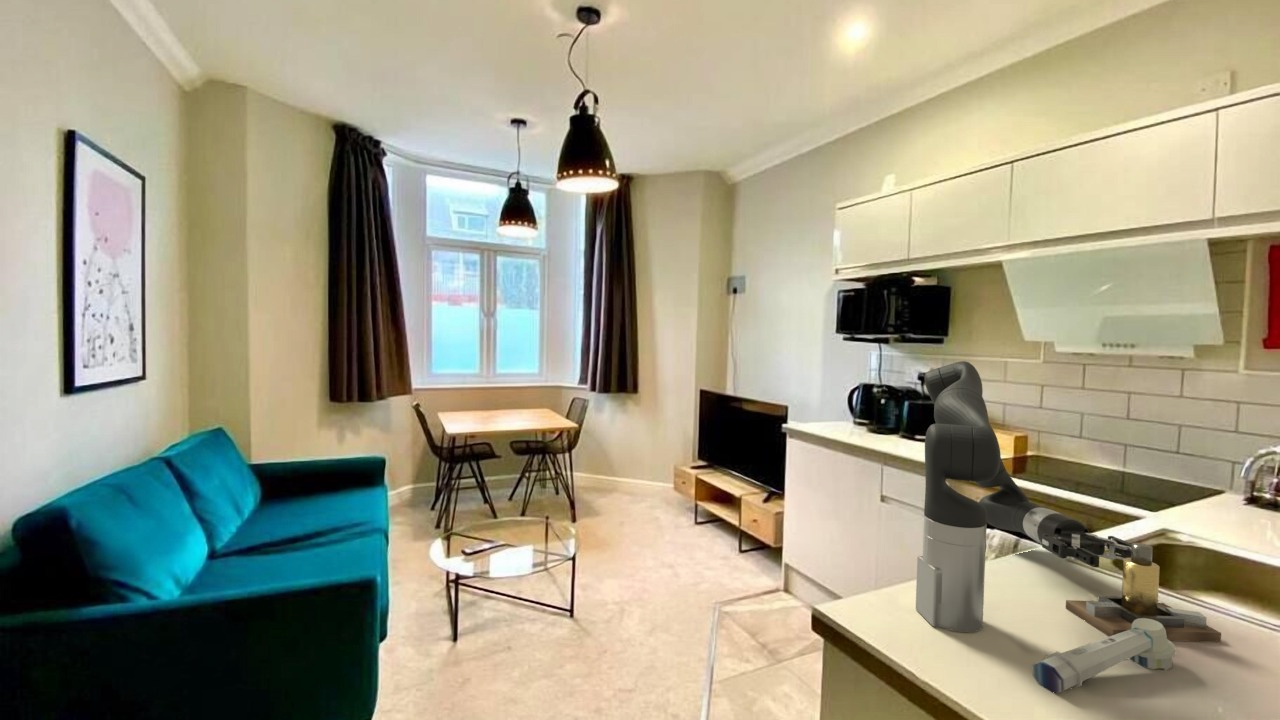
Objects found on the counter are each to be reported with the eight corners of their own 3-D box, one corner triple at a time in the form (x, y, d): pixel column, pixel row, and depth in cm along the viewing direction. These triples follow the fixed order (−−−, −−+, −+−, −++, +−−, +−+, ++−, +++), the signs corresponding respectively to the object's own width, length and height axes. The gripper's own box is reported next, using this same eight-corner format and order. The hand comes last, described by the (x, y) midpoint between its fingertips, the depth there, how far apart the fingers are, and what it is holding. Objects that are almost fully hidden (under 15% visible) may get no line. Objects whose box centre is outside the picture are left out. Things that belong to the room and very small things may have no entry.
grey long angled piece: (1026, 652, 77) (1140, 603, 85) (1028, 697, 77) (1142, 644, 85) (1065, 674, 72) (1183, 620, 80) (1068, 721, 72) (1184, 663, 80)
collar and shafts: (1108, 625, 89) (1109, 614, 89) (1072, 603, 97) (1073, 593, 97) (1210, 628, 89) (1211, 617, 89) (1166, 606, 96) (1167, 596, 96)
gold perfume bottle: (1137, 621, 90) (1140, 550, 90) (1113, 608, 95) (1117, 540, 94) (1164, 622, 90) (1168, 550, 90) (1139, 609, 95) (1143, 540, 94)
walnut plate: (1112, 638, 88) (1113, 629, 88) (1065, 608, 98) (1065, 600, 98) (1220, 642, 87) (1221, 632, 87) (1162, 611, 97) (1162, 602, 97)
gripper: (1020, 511, 112) (1081, 540, 96) (1090, 513, 112) (1164, 542, 96) (1018, 547, 113) (1080, 582, 96) (1089, 549, 112) (1162, 585, 96)
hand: (1122, 562), depth 96 cm, fingers open, 8 cm apart
